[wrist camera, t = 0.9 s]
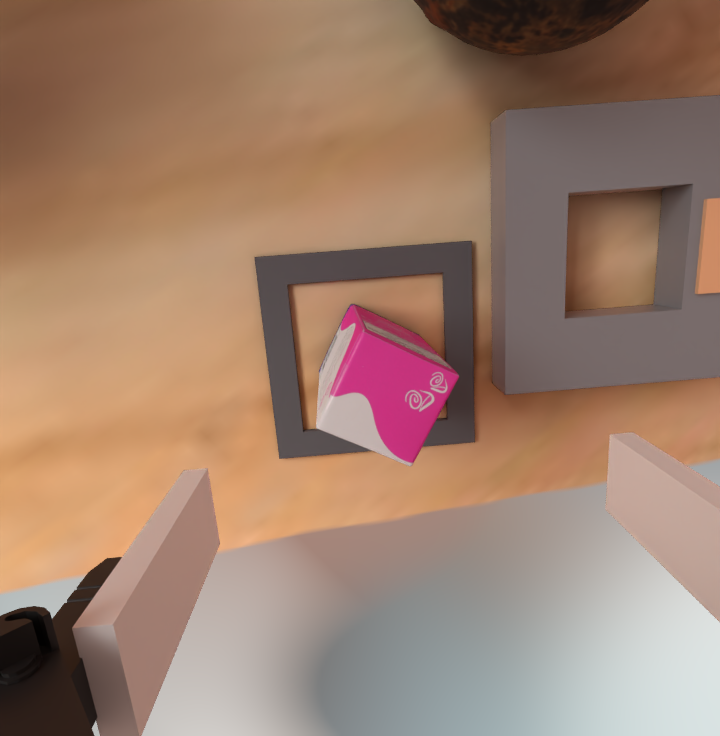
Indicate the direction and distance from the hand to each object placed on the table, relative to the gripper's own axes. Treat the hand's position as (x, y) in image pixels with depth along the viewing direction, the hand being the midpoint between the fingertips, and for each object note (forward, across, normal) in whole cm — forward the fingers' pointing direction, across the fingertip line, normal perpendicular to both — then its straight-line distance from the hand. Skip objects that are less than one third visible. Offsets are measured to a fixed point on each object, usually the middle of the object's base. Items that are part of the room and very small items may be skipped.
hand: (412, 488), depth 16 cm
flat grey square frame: (+20, 0, 0) cm, 20 cm away
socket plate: (+20, +17, +6) cm, 27 cm away
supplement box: (+21, 0, 0) cm, 21 cm away
